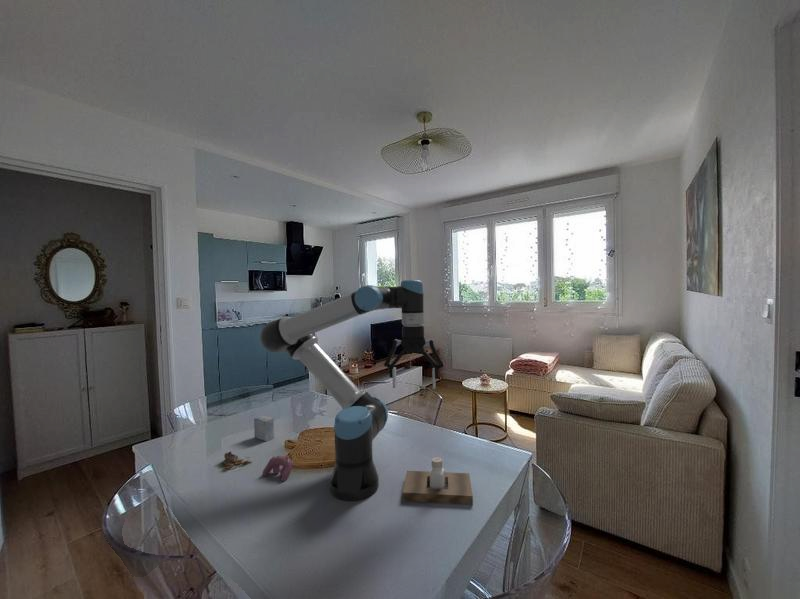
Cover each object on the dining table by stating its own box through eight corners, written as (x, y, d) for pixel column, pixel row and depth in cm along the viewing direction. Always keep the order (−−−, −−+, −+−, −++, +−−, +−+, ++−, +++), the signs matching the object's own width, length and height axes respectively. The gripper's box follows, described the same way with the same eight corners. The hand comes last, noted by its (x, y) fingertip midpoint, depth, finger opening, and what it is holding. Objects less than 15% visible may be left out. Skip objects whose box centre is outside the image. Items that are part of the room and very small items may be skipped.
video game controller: (291, 481, 109) (297, 458, 112) (282, 481, 105) (289, 458, 108) (269, 475, 113) (276, 453, 116) (260, 475, 109) (267, 453, 112)
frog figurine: (208, 468, 117) (208, 458, 117) (240, 454, 127) (240, 445, 127) (225, 478, 110) (224, 466, 110) (257, 462, 120) (257, 452, 120)
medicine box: (274, 438, 141) (274, 418, 141) (265, 442, 137) (265, 421, 137) (263, 434, 145) (262, 414, 145) (254, 438, 141) (253, 418, 141)
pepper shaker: (429, 493, 98) (428, 461, 98) (432, 486, 102) (432, 455, 102) (442, 495, 97) (441, 463, 97) (445, 488, 101) (444, 457, 101)
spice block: (402, 500, 95) (402, 492, 95) (407, 478, 107) (407, 470, 107) (472, 504, 92) (472, 496, 92) (469, 481, 104) (469, 473, 104)
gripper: (374, 326, 110) (376, 389, 110) (449, 326, 105) (450, 391, 105) (379, 324, 117) (381, 383, 117) (450, 324, 113) (451, 385, 113)
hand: (414, 387), depth 111 cm, fingers open, 13 cm apart
